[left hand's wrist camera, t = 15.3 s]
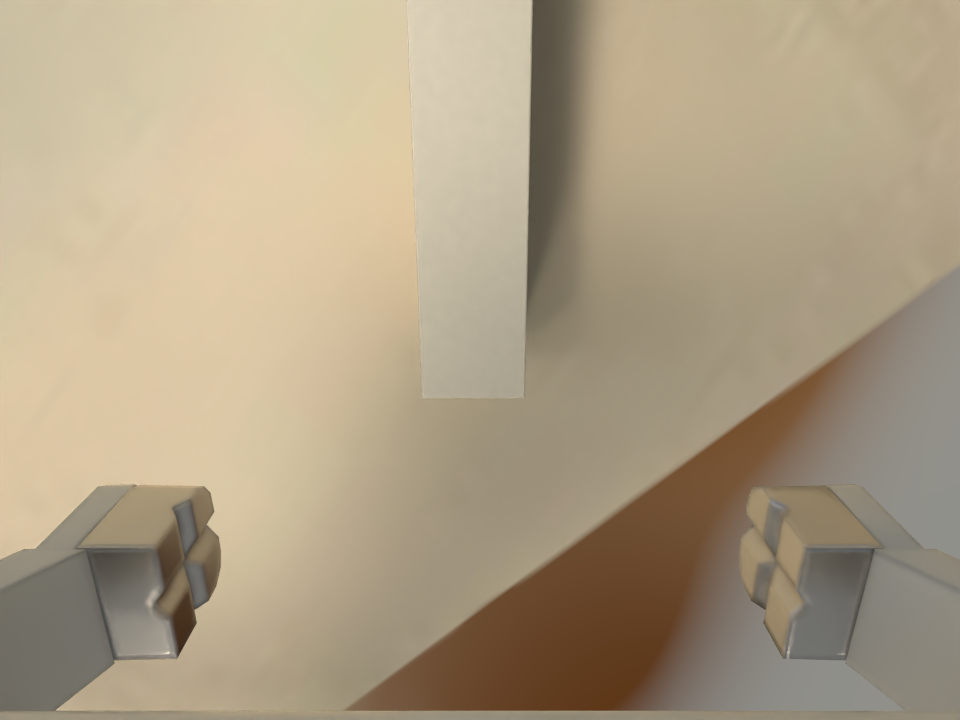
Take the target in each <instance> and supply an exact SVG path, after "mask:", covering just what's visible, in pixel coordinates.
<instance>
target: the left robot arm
mask: <svg viewBox="0 0 960 720" xmlns="http://www.w3.org/2000/svg"><path fill="white" fill-rule="evenodd" d="M213 513H214V508H213V503H212V498H211V493H210V492H209V491H208V490H207V489H206V488H205V487H204V486H162V485H139V486H137V485H105V486H100V487H97V488H96V489H95V490H94V491H93V492H92V493H91V494H90V495H89V496H88V497H87V498H86V499H85V500H84V501H83V502H82V503H81V504H80V505H79V506H78V507H77V508H76V509H75V510H74V511H73V512H72V513H71V514H70V515H69V516H68V517H67V518H66V519H65V520H64V521H63V522H62V523H61V524H60V525H59V526H58V527H57V528H56V529H55V530H54V531H53V532H52V533H51V534H50V535H49V536H48V537H47V538H46V539H45V540H44V541H43V542H42V543H41V544H40V545H39V546H38V547H37V548H36V549H23V550H21V551H19V552H17V553H14V554H12V555H10V556H8V557H5V558H3V559H1V560H0V720H960V560H959V559H957V558H954V557H952V556H950V555H948V554H946V553H943V552H941V551H939V550H937V549H924V548H923V547H922V546H921V545H920V544H919V543H918V542H917V541H916V540H915V539H914V538H913V537H912V536H911V535H910V534H909V533H908V532H907V531H906V530H905V529H904V528H903V527H902V526H901V525H900V524H899V523H898V522H897V521H896V520H895V519H894V518H893V517H892V516H891V515H890V514H889V513H888V512H887V511H886V510H885V509H884V508H883V507H882V506H881V505H880V504H879V503H878V502H877V501H876V500H875V499H874V498H873V497H872V496H871V495H870V494H869V493H868V492H867V491H866V490H865V489H864V488H863V487H860V486H857V485H855V484H850V485H824V486H789V487H756V488H753V489H752V491H751V493H750V495H749V497H748V502H747V507H746V513H747V514H748V516H749V518H750V519H751V521H752V523H753V524H754V525H753V526H752V527H751V528H750V529H749V530H748V531H747V532H746V533H745V534H744V535H743V536H742V537H741V544H740V552H739V562H740V573H741V577H742V581H743V584H744V587H745V589H746V591H747V593H748V595H749V597H750V599H751V601H753V602H754V603H756V604H757V605H759V606H760V607H762V608H763V609H765V610H766V611H765V617H764V622H763V623H764V625H765V627H766V629H767V630H768V632H769V634H770V636H771V638H772V639H773V641H774V643H775V645H776V647H777V648H778V650H779V652H780V654H781V656H782V658H783V659H816V660H846V664H847V665H848V666H850V667H851V668H852V669H854V670H855V671H856V672H857V673H859V674H860V675H861V676H862V677H864V678H865V679H866V680H868V681H869V682H870V683H871V684H873V685H874V686H875V687H876V688H878V689H879V690H880V691H881V692H883V693H884V694H885V695H886V696H888V697H889V698H890V699H892V700H893V701H894V702H895V703H897V704H898V705H899V706H900V707H902V708H903V709H904V710H905V711H55V710H56V709H57V708H59V707H60V706H61V705H62V704H64V703H65V702H66V701H67V700H69V699H70V698H71V697H73V696H74V695H75V694H76V693H78V692H79V691H80V690H81V689H83V688H84V687H85V686H86V685H88V684H89V683H90V682H92V681H93V680H94V679H95V678H97V677H98V676H99V675H100V674H102V673H103V672H104V671H105V670H107V669H108V668H109V667H111V666H112V665H113V664H114V660H143V659H177V658H178V656H179V654H180V652H181V650H182V649H183V647H184V645H185V643H186V641H187V639H188V638H189V636H190V634H191V632H192V630H193V629H194V627H195V625H196V623H197V622H196V617H195V611H194V610H195V609H197V608H198V607H200V606H201V605H203V604H204V603H206V602H207V601H209V599H210V597H211V595H212V593H213V591H214V589H215V587H216V584H217V580H218V576H219V572H220V567H221V549H220V543H219V537H218V536H217V535H216V534H215V533H214V532H213V531H212V530H211V529H210V528H209V527H208V526H207V525H206V524H207V523H208V521H209V519H210V518H211V516H212V515H213Z"/></svg>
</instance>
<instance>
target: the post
mask: <svg viewBox="0 0 960 720" xmlns="http://www.w3.org/2000/svg"><path fill="white" fill-rule="evenodd" d="M406 6H407V31H408V56H409V81H410V106H411V131H412V156H413V181H414V206H415V232H416V257H417V282H418V307H419V332H420V357H421V382H422V398H423V399H471V398H524V397H525V368H526V318H527V268H528V218H529V168H530V118H531V68H532V18H533V0H406Z"/></svg>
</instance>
